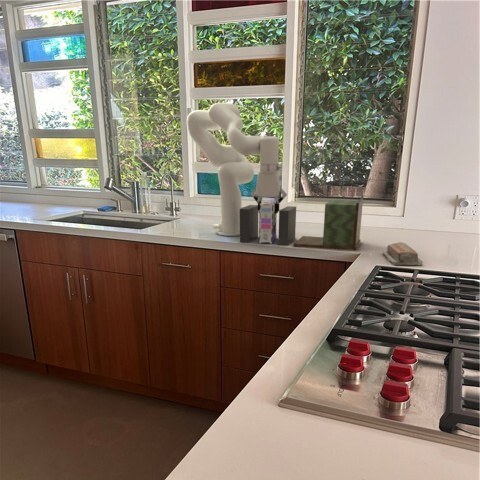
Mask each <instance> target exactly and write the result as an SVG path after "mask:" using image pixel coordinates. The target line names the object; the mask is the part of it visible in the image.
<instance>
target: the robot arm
mask: <svg viewBox="0 0 480 480" xmlns="http://www.w3.org/2000/svg"><path fill="white" fill-rule="evenodd" d="M186 127H187V132H188V134H189V135H188V136H189V137H190V138H191V140H192V141H193V142H194V143H195V144H196V146H197V147H199V149H200V150H201V152H202V153H203V154H204V156H205V157H206V158H207V160H208V161H209V163H210V164H211V165H212V166H213V167H214V168H218V169H217V179H218V183H219V189H220V190H219V191H220V192H219V193H220V223H219V224H217V223H215V224H213V229H214V230H218V231H217V235H219V236H225V237H237V236H239V237H240V209H241V208H243V206H242V191H241V189H240V186H239V185H244V184H248V183H251V182H252V181H253V179H254V176H255V171H254V168H253V165H252V163H251V162H250V161H249V159H248V158H247V157H246V156H259V171H258V173H257V177H256V178H257V179H256V187H255V188H254V189H253V190H252V191H251V192H250V196H251V197H252V198H253V199H254V200H255V202H256V203H257V205H258V212H259V209H260V204H261V203H262V202H263V199H264V198H273V199H274V201H276V204H275V214H279V210H280V203H281V202H282V201H283V200H284V199H285V198H287V196H288V193H287V192H286V191H285V190H284V189H283V188H282V187H283V186H282V175H281V174H282V173H281V171H279V170H283V169H282V168H283V167H282V165H280V163H279V151H280V150H279V149H280V140H279V137H277V136H276V135H274V136H273V135H267V136H265V135H264V136H262V135H247V134H246V135H245V134H244V132H242V130H243V128H244V122H243V119H242V118H241V112H240V109H239V107H238V106H237V105H236V104H234V103H231V102H215V103H214V104H211V106H210V107H209V108H208V109H207V110H206V109H204V110H203V109H196V110H193V111H191V112H190V113H189V114H188V115H187V117H186ZM220 130H222V131H223V132H224V133H225V134H226V136H227V137H226V138H227V141H228V143H229V145H228V144H222V143H220V141H219V140H218V139H217V138H216V136H215V135H214V134H212V133H211V132H210V131H212V132H213V131H220Z"/></svg>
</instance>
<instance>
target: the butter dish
mask: <svg viewBox="0 0 480 480" xmlns="http://www.w3.org/2000/svg"><path fill="white" fill-rule="evenodd" d="M381 252H382V255H384V256H385V257H386V259H387V260H388V262H391V263H392V264H393V265H394V266H422V265H423V260H422V259H420V258H419V253H418V252H417V251H416V250H415V249H413V248H412V247H410V246H409V245H408V244H407V243H405V242H395V243H391V244H388V245H387V247H386V250H385V251H384V250H382V251H381ZM392 261H393V262H394V263H393V262H392Z"/></svg>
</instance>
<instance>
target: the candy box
mask: <svg viewBox="0 0 480 480" xmlns="http://www.w3.org/2000/svg"><path fill="white" fill-rule="evenodd" d="M275 204H276V201H275V200H262V203H261V204H260V209H259V211H258V243H259V244H270V245H271V244H273V243H274V241H275V240H276V239H277V223H278V222H277V216H278V215H277V214H278V213H277V214H275Z"/></svg>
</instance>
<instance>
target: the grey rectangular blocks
mask: <svg viewBox="0 0 480 480" xmlns="http://www.w3.org/2000/svg"><path fill="white" fill-rule="evenodd" d="M296 221H297V206H294V205H293V206H291V205H289V206H285V207H283V208H282V209H279V211H278V236H277V237H278V238H277V241H278V243H277V245H279V246H288V245H290V244H291V243H292V242H293V241H294V240H296V228H297V227H296V226H297V222H296ZM257 238H259V211H258V204H249V205H246V206H242V208H241V209H240V235H239V243H246V244H247V243H248V244H249V243H250V242H252V241H254V240H256V239H257Z"/></svg>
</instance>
